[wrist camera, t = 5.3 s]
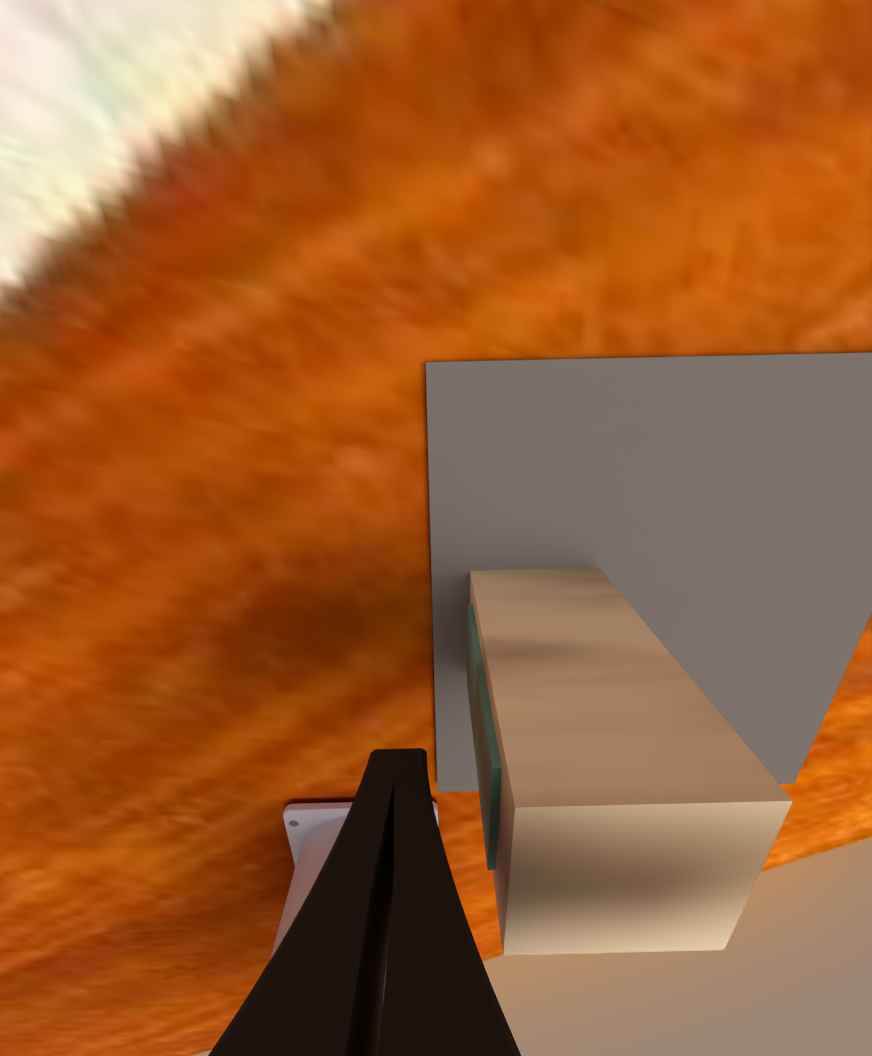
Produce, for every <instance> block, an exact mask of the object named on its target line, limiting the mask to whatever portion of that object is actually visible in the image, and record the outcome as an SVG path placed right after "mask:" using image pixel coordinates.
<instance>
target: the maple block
mask: <svg viewBox="0 0 872 1056" xmlns="http://www.w3.org/2000/svg"><path fill="white" fill-rule="evenodd" d="M467 689H468V698H469V707H470V716H471V725H472V734H473V743H474V751H475V760H476V769H477V778H478V787H479V796H480V805H481V814H482V823H483V832H484V841H485V850H486V858H487V867H488V870H493V876H494V884H495V892H496V900H497V908H498V917H499V925H500V933H501V941H502V949H503V955H537V954H578V953H616V952H617V953H618V952H658V951H693V950H694V951H695V950H696V951H698V950H724V949H725V947H726V945H727V942H728V940H729V938H730V936H731V934H732V932H733V929H734V927H735V925H736V923H737V921H738V919H739V917H740V914H741V912H742V910H743V908H744V906H745V903H746V901H747V899H748V897H749V895H750V893H751V891H752V888H753V886H754V884H755V882H756V880H757V878H758V875H759V873H760V871H761V869H762V867H763V865H764V863H765V860H766V858H767V856H768V854H769V852H770V850H771V847H772V845H773V843H774V841H775V839H776V837H777V834H778V832H779V830H780V828H781V826H782V824H783V821H784V819H785V817H786V815H787V813H788V811H789V809H790V806H791V804H792V802H793V800H792V799H791V798H790V797H789V795H788V794H787V793H786V792H785V791H784V789H783V788H782V787H781V786H780V785H779V783H778V782H777V781H776V780H775V779H774V777H773V776H772V775H771V774H770V773H769V771H768V770H767V769H766V768H765V767H764V765H763V764H762V763H761V762H760V761H759V759H758V758H757V757H756V756H755V755H754V753H753V752H752V751H751V750H750V749H749V747H748V746H747V745H746V744H745V743H744V741H743V740H742V739H741V738H740V737H739V735H738V734H737V733H736V732H735V731H734V729H733V728H732V727H731V726H730V725H729V723H728V722H727V721H726V720H725V719H724V717H723V716H722V715H721V714H720V713H719V711H718V710H717V709H716V708H715V707H714V705H713V704H712V703H711V702H710V700H709V699H708V698H707V697H706V696H705V694H704V693H703V692H702V691H701V690H700V688H699V687H698V686H697V685H696V684H695V682H694V681H693V680H692V679H691V678H690V676H689V675H688V674H687V673H686V672H685V670H684V669H683V668H682V667H681V666H680V664H679V663H678V662H677V661H676V660H675V658H674V657H673V656H672V655H671V654H670V652H669V651H668V650H667V649H666V648H665V646H664V645H663V644H662V643H661V642H660V640H659V639H658V638H657V637H656V636H655V634H654V633H653V632H652V631H651V630H650V628H649V627H648V626H647V625H646V624H645V622H644V621H643V620H642V619H641V618H640V616H639V615H638V614H637V613H636V612H635V610H634V609H633V608H632V607H631V606H630V604H629V603H628V602H627V601H626V600H625V598H624V597H623V596H622V595H621V594H620V592H619V591H618V590H617V589H616V588H615V586H614V585H613V584H612V583H611V582H610V580H609V579H608V578H607V577H606V576H605V574H604V573H603V572H602V571H601V570H600V568H572V569H528V570H485V571H470V605H468V617H467Z"/></svg>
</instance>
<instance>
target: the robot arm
mask: <svg viewBox="0 0 872 1056" xmlns="http://www.w3.org/2000/svg"><path fill="white" fill-rule="evenodd" d="M283 819H284V823H285V827H286V831H287V836H288V840H289V844H290V848H291V852H292V856H293V860H294V864H295V870H294V873H293V877H292V881H291V884H290V888H289V892H288V895H287V899H286V903H285V907H284V910H283V914H282V918H281V921H280V925H279V929H278V932H277V936H276V940H275V943H274V947H273V951H272V954H271V958H270V961H269V963H268V965H267V966H266V968H265V969H264V971H263V973H262V974H261V976H260V977H259V979H258V981H257V982H256V984H255V986H254V987H253V989H252V990H251V992H250V994H249V995H248V997H247V998H246V1000H245V1001H244V1003H243V1004H242V1006H241V1008H240V1009H239V1011H238V1012H237V1014H236V1015H235V1017H234V1018H233V1020H232V1021H231V1023H230V1024H229V1026H228V1027H227V1029H226V1030H225V1032H224V1033H223V1035H222V1036H221V1038H220V1039H219V1041H218V1042H217V1043H216V1045H215V1046H214V1048H213V1049H212V1051H211V1052H210V1054H209V1055H208V1056H521V1055H520V1052H519V1050H518V1047H517V1045H516V1043H515V1040H514V1038H513V1036H512V1033H511V1031H510V1028H509V1026H508V1024H507V1022H506V1019H505V1017H504V1014H503V1012H502V1010H501V1007H500V1005H499V1002H498V1000H497V997H496V995H495V993H494V991H493V988H492V986H491V983H490V981H489V978H488V975H487V973H486V970H485V968H484V965H483V962H482V960H481V957H480V955H479V952H478V949H477V947H476V944H475V941H474V939H473V936H472V933H471V930H470V928H469V925H468V922H467V919H466V916H465V914H464V911H463V908H462V905H461V902H460V899H459V896H458V893H457V890H456V887H455V883H454V880H453V877H452V874H451V871H450V867H449V864H448V861H447V857H446V854H445V850H444V847H443V843H442V839H441V835H440V831H439V828H438V806H437V804H436V803H435V802H433V801H432V797H431V791H430V786H429V779H428V771H427V752H426V751H425V750H424V749H422V748H413V749H377V750H374V751H373V752H371V754H370V757H369V761H368V764H367V767H366V770H365V772H364V775H363V778H362V781H361V783H360V786H359V788H358V791H357V793H356V796H355V798H354V800H353V802H339V803H298V804H289V805H287V806H286V807H285V809H284V813H283Z"/></svg>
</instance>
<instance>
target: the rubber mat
mask: <svg viewBox="0 0 872 1056" xmlns="http://www.w3.org/2000/svg"><path fill="white" fill-rule="evenodd" d="M426 392H427V428H428V465H429V502H430V538H431V575H432V611H433V648H434V685H435V721H436V758H437V792H458V791H479V787H478V778H477V769H476V760H475V751H474V743H473V734H472V725H471V716H470V707H469V698H468V689H467V617H468V605H470V571H485V570H528V569H572V568H600V570H601V571H602V572H603V573H604V574H605V576H606V577H607V578H608V579H609V580H610V582H611V583H612V584H613V585H614V586H615V588H616V589H617V590H618V591H619V592H620V594H621V595H622V596H623V597H624V598H625V600H626V601H627V602H628V603H629V604H630V606H631V607H632V608H633V609H634V610H635V612H636V613H637V614H638V615H639V616H640V618H641V619H642V620H643V621H644V622H645V624H646V625H647V626H648V627H649V628H650V630H651V631H652V632H653V633H654V634H655V636H656V637H657V638H658V639H659V640H660V642H661V643H662V644H663V645H664V646H665V648H666V649H667V650H668V651H669V652H670V654H671V655H672V656H673V657H674V658H675V660H676V661H677V662H678V663H679V664H680V666H681V667H682V668H683V669H684V670H685V672H686V673H687V674H688V675H689V676H690V678H691V679H692V680H693V681H694V682H695V684H696V685H697V686H698V687H699V688H700V690H701V691H702V692H703V693H704V694H705V696H706V697H707V698H708V699H709V700H710V702H711V703H712V704H713V705H714V707H715V708H716V709H717V710H718V711H719V713H720V714H721V715H722V716H723V717H724V719H725V720H726V721H727V722H728V723H729V725H730V726H731V727H732V728H733V729H734V731H735V732H736V733H737V734H738V735H739V737H740V738H741V739H742V740H743V741H744V743H745V744H746V745H747V746H748V747H749V749H750V750H751V751H752V752H753V753H754V755H755V756H756V757H757V758H758V759H759V761H760V762H761V763H762V764H763V765H764V767H765V768H766V769H767V770H768V771H769V773H770V774H771V775H772V776H773V777H774V779H775V780H776V781H777V782H778V783H779V784H789V783H795V781H796V778H797V776H798V774H799V772H800V770H801V767H802V765H803V763H804V761H805V759H806V756H807V754H808V752H809V750H810V747H811V745H812V743H813V741H814V739H815V736H816V734H817V732H818V730H819V728H820V725H821V723H822V721H823V719H824V717H825V714H826V712H827V710H828V708H829V706H830V703H831V701H832V699H833V697H834V695H835V692H836V690H837V688H838V686H839V684H840V681H841V679H842V677H843V675H844V672H845V670H846V668H847V666H848V664H849V661H850V659H851V657H852V655H853V653H854V650H855V648H856V646H857V644H858V642H859V639H860V637H861V635H862V633H863V631H864V628H865V626H866V624H867V622H868V620H869V617H870V615H871V613H872V353H828V354H782V355H735V356H689V357H642V358H596V359H549V360H503V361H456V362H426Z"/></svg>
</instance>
